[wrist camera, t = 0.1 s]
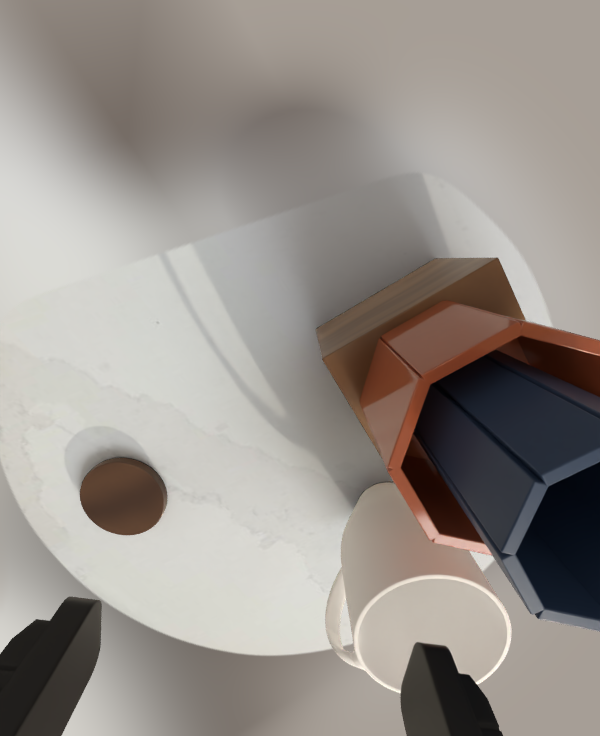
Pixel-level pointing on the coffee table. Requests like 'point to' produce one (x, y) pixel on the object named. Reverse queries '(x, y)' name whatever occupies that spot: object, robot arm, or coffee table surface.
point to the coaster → (123, 496)
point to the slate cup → (524, 477)
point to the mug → (411, 595)
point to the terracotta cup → (433, 362)
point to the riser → (408, 315)
